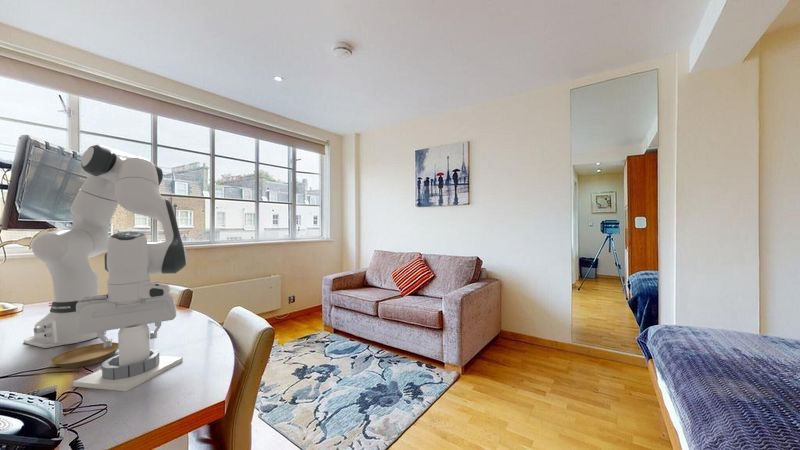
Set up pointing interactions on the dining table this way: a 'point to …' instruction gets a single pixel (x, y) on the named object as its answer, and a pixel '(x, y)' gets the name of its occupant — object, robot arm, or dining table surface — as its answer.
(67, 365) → the plant saucer
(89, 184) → the robot arm
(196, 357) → the dining table surface
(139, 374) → the housing base
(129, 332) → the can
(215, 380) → the dining table surface
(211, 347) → the dining table surface
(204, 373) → the dining table surface
